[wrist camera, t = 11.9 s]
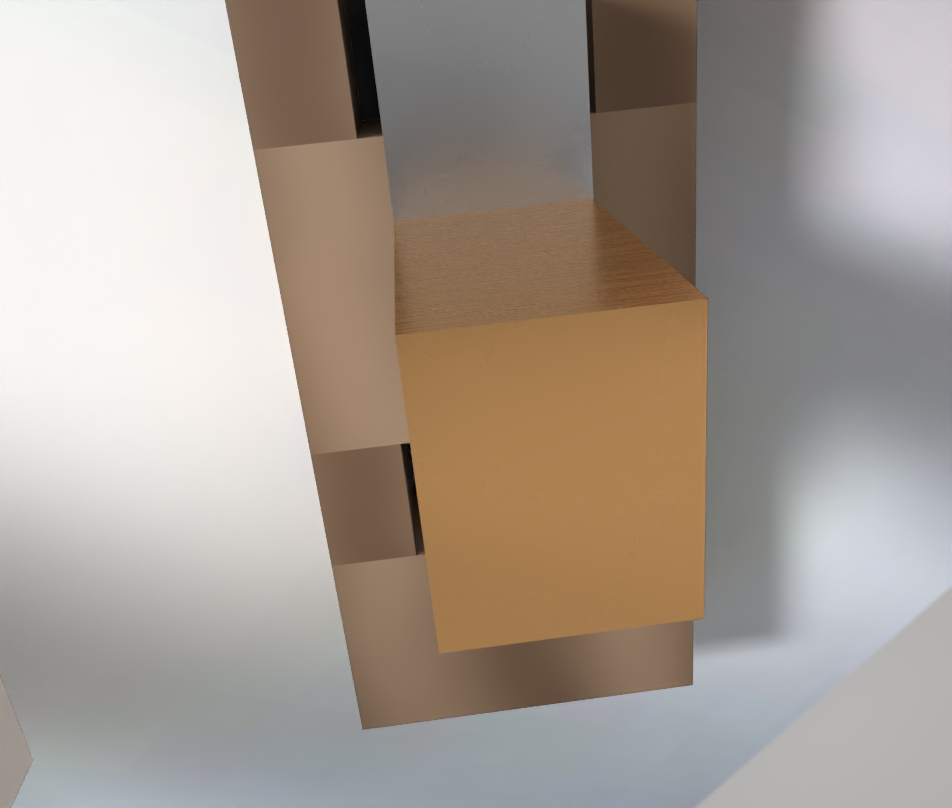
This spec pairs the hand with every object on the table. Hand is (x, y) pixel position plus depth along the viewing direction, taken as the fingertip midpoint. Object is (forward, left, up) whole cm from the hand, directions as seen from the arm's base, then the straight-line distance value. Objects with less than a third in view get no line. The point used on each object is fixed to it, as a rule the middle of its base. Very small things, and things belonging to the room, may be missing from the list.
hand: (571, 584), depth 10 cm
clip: (0, 0, -16) cm, 16 cm away
